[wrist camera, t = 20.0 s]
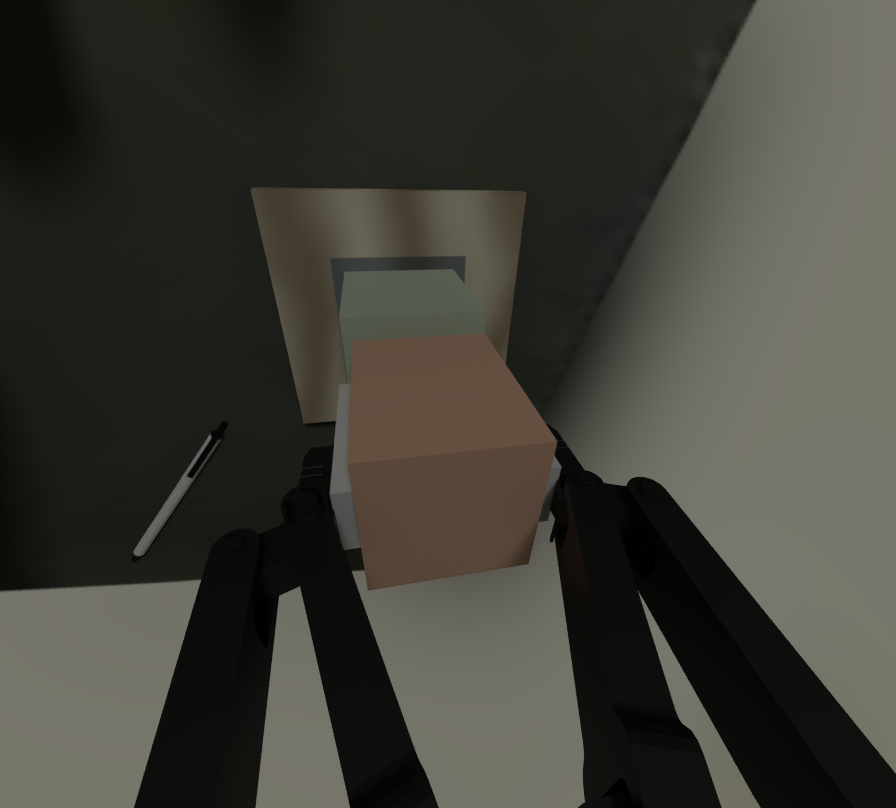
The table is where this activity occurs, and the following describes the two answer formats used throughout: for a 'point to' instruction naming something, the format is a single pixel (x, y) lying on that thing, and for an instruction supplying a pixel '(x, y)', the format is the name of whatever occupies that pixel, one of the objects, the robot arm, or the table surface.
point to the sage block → (405, 307)
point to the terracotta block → (442, 459)
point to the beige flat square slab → (378, 263)
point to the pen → (179, 491)
